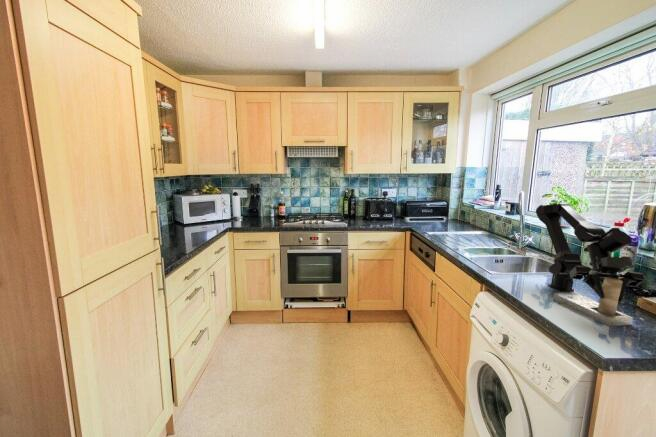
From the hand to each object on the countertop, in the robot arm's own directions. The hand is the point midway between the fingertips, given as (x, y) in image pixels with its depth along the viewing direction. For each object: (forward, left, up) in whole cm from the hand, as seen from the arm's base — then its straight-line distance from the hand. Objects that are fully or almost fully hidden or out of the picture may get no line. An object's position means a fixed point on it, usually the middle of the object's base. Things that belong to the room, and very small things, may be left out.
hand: (611, 299), depth 97 cm
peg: (-1, +1, -7) cm, 7 cm away
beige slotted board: (-6, +1, -7) cm, 10 cm away
